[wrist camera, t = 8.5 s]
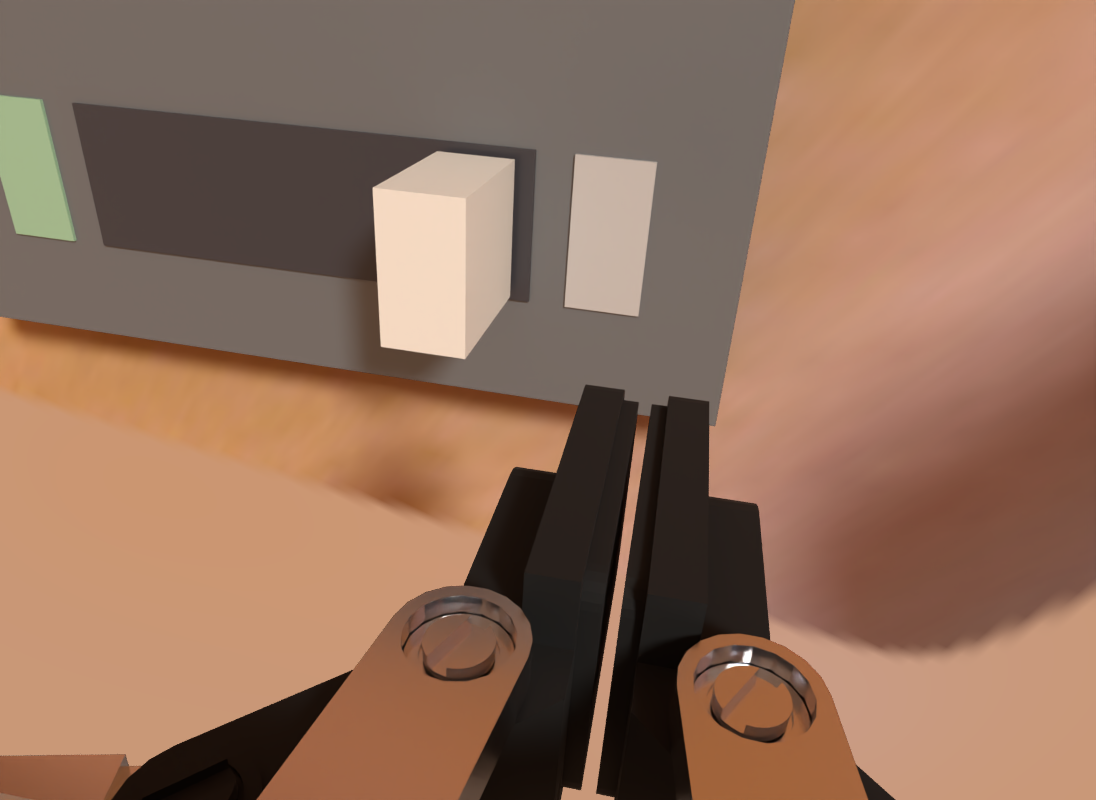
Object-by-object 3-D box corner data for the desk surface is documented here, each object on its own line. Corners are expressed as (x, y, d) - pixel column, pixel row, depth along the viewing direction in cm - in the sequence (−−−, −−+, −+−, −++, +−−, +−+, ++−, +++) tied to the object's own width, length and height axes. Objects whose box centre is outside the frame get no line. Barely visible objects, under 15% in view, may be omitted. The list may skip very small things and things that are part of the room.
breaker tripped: (514, 159, 19) (466, 198, 16) (509, 296, 21) (465, 358, 17) (437, 151, 19) (372, 187, 16) (438, 287, 21) (380, 346, 18)
